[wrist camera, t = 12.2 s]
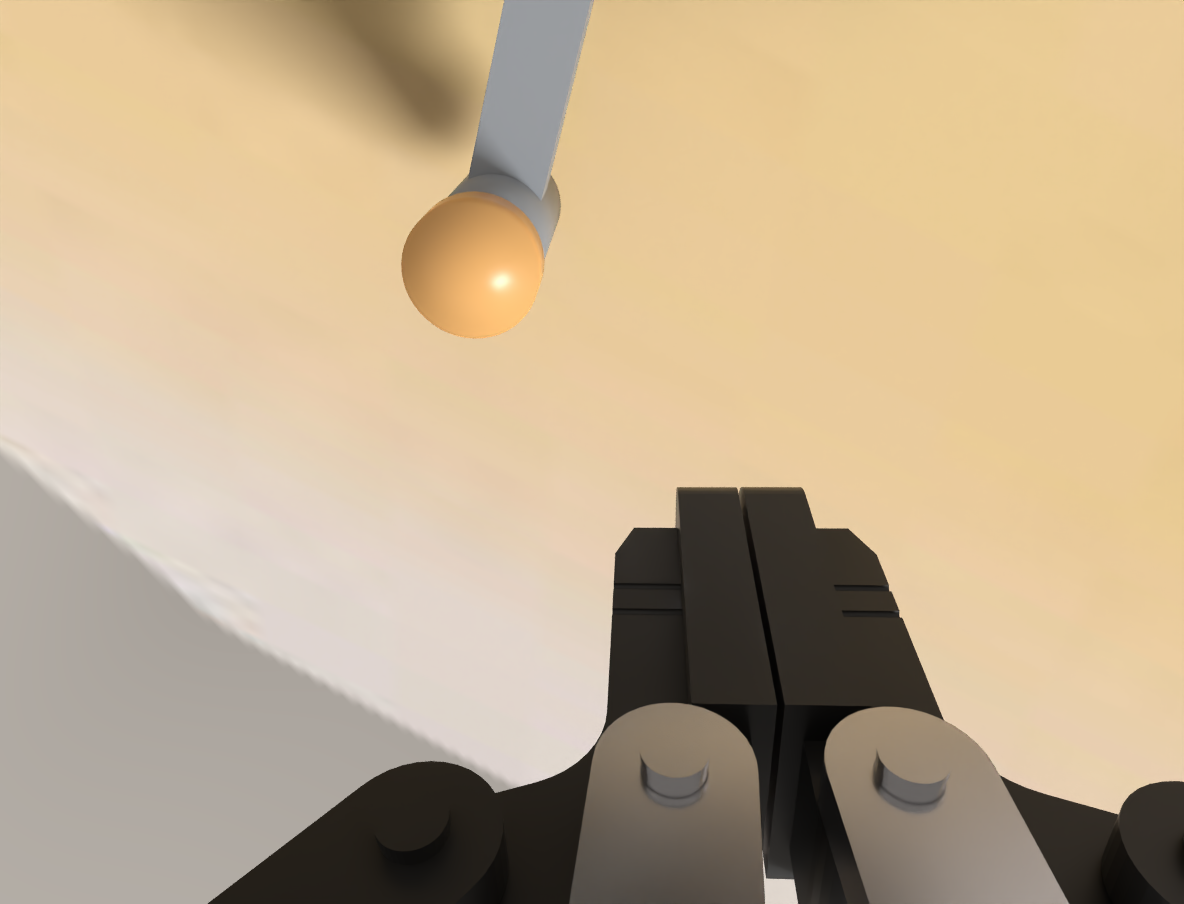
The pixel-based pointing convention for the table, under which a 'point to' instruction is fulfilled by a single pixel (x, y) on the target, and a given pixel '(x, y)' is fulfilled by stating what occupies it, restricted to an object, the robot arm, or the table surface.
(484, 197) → the orange knob lever
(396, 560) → the table surface
